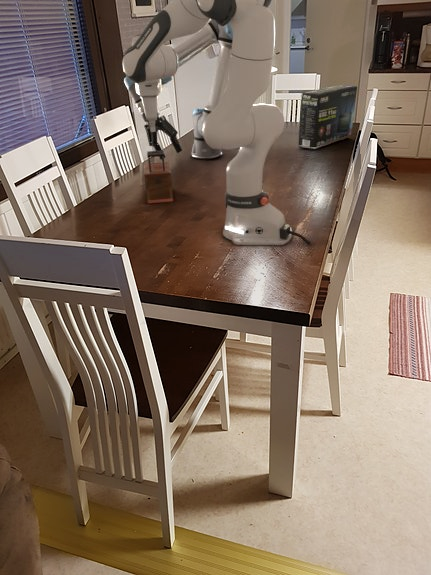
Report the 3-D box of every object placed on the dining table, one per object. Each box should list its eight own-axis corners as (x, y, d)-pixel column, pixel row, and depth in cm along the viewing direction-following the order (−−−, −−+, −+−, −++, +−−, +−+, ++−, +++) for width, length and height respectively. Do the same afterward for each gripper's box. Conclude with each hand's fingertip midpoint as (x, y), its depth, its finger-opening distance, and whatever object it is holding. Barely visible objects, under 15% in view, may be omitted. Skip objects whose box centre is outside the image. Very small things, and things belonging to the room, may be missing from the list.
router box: (314, 151, 231) (318, 94, 217) (296, 148, 237) (299, 92, 224) (352, 138, 251) (358, 85, 238) (335, 135, 258) (340, 83, 245)
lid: (170, 175, 171) (168, 152, 167) (144, 177, 170) (141, 154, 166) (169, 164, 184) (167, 142, 179) (144, 166, 183) (142, 144, 178)
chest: (173, 201, 177) (170, 174, 172) (147, 203, 176) (144, 176, 171) (171, 189, 189) (169, 164, 184) (147, 191, 188) (144, 166, 183)
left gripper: (128, 121, 207) (151, 164, 214) (157, 104, 187) (181, 152, 195) (140, 114, 210) (162, 157, 218) (169, 97, 191) (193, 145, 199)
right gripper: (139, 83, 167) (144, 123, 174) (139, 91, 149) (144, 135, 156) (157, 82, 167) (160, 122, 174) (158, 90, 150) (162, 134, 157)
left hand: (171, 155), depth 206 cm, fingers open, 13 cm apart
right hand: (152, 128), depth 165 cm, fingers open, 8 cm apart
